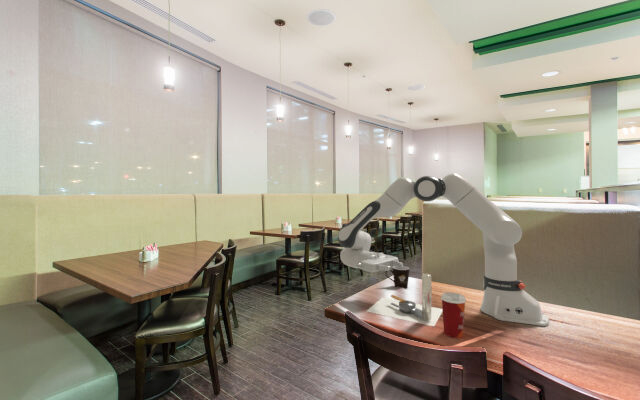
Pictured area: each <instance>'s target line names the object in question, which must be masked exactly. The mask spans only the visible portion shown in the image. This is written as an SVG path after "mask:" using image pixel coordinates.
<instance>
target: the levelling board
mask: <svg viewBox="0 0 640 400" xmlns="http://www.w3.org/2000/svg"><path fill="white" fill-rule="evenodd" d="M399 302H400V301H399V300H397V299H394V298H387V297H381V298H380V299H378V301H377V302H375V303H374V304H373V305H372V306H370V307H368V309H366V312H368V313H372V314H377V315H381V316H385V317H389V318H395V319H399V320H402V321H407V322H411V323H418V324H420V325H426V326H429V327H435V326H436V324H437V322H438V320H439V319H440V317H441V315H442V314H443V309H442V308H440V307H435V306H431V320H425V319H423V318H421V317H419V316H417V315H415V314H413V313H403V312H401V311H399ZM415 304H416V308H417V309H420V310H422V304H419V303H415Z"/></svg>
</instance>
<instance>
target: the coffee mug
mask: <svg viewBox="0 0 640 400" xmlns="http://www.w3.org/2000/svg"><path fill="white" fill-rule="evenodd" d="M388 272H390V273H391V274H392V275H393V279H392V278H391V277H389V276H388V275H387V273H388ZM384 274H385V276H386V277H387V278H388V279H389V280H390V281H392V282H393V283H394V288H397V287H399V288H402V289H405V290H406V289H408V284H409V277H410V276H409V275H410V267H408V266H405V265H403V267H397V266H395V267H392V270H391V269H390V270H389V271H385V273H384Z"/></svg>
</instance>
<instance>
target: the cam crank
mask: <svg viewBox="0 0 640 400" xmlns="http://www.w3.org/2000/svg"><path fill="white" fill-rule="evenodd" d="M421 275H422V276H421V280H422V281H421V283H422V284H421V287H422V288H421V296H422V297H421V302H422V303H421V305H422V310H420V309H417V308H416V304H417V303H415V302H414V301H412V300H405V299H404V298H400V297H399V296H397V295H394V294H392V295H390V297H391V299H394V300H399V301H400V302H399V311H401V312H403V313H413V314H415V315H417V316H419V317H421V318H423V319H425V320H431V307H432V274H431V273H422V274H421Z"/></svg>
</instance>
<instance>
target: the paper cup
mask: <svg viewBox="0 0 640 400" xmlns="http://www.w3.org/2000/svg"><path fill="white" fill-rule="evenodd" d="M440 299H441V306H442V308H441V309H443V312H442V323H443V324H442V325H443V326H442V327H443V333H444V334H445V335H446V336H447V337H450V338H454V339H455V338H456V339H460V338H463V337H464V323H465V307H466V306H465V305H466V303H467V300H466V297H465V296H464V295H463V294H462V293H458V292H450V291H449V292H443V293H442V294H441V296H440Z"/></svg>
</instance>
